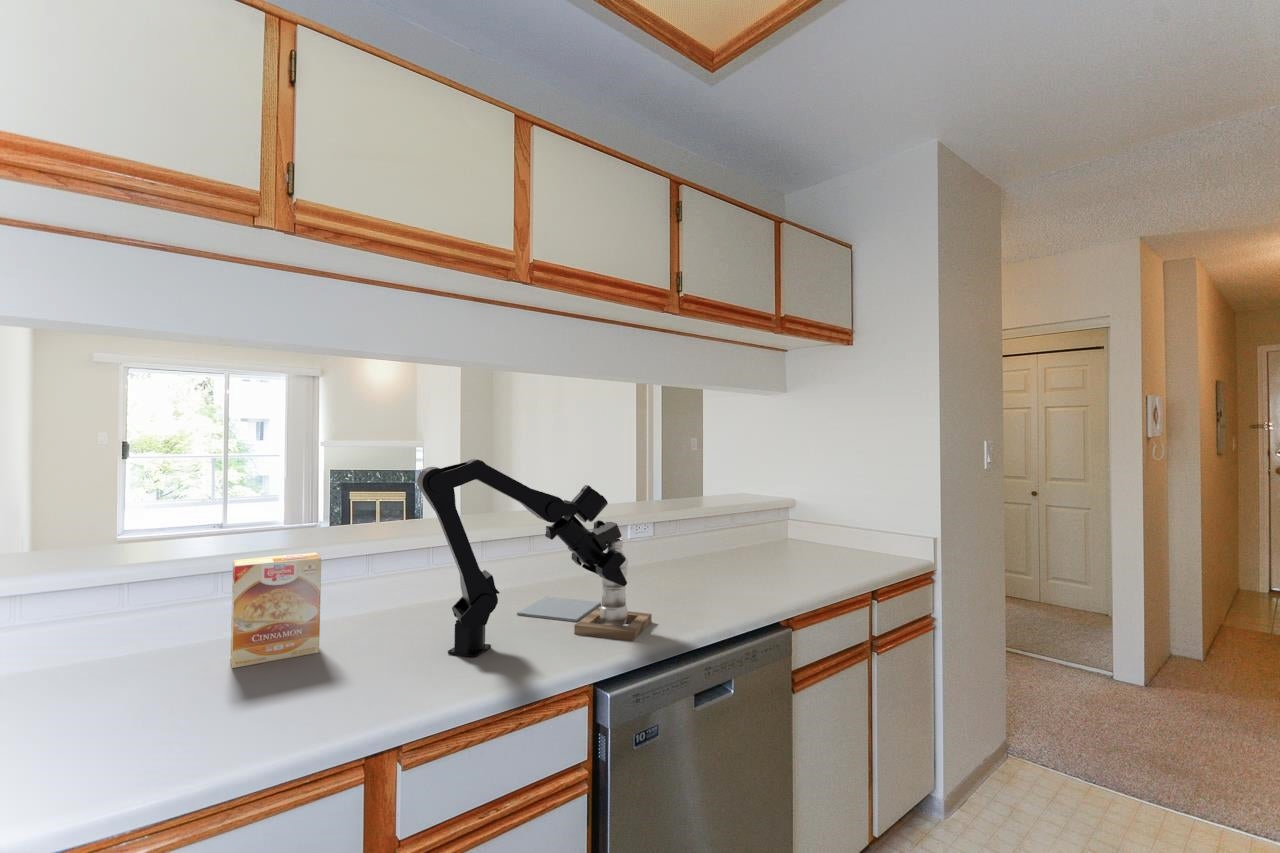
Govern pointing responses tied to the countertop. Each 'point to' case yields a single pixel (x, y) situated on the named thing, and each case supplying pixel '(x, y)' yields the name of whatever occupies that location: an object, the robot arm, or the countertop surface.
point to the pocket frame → (630, 632)
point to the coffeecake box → (275, 608)
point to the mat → (559, 609)
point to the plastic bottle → (614, 594)
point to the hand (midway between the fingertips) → (619, 581)
